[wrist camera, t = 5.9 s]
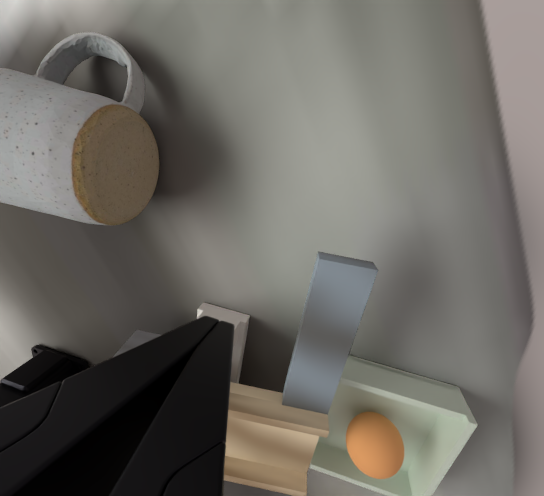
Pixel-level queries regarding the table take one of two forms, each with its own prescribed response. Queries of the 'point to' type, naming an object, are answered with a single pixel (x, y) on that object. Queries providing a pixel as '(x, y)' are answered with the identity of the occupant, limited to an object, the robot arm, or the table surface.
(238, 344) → the stand
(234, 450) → the lever
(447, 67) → the table surface
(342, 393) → the tray
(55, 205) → the ceramic mug
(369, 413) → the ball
